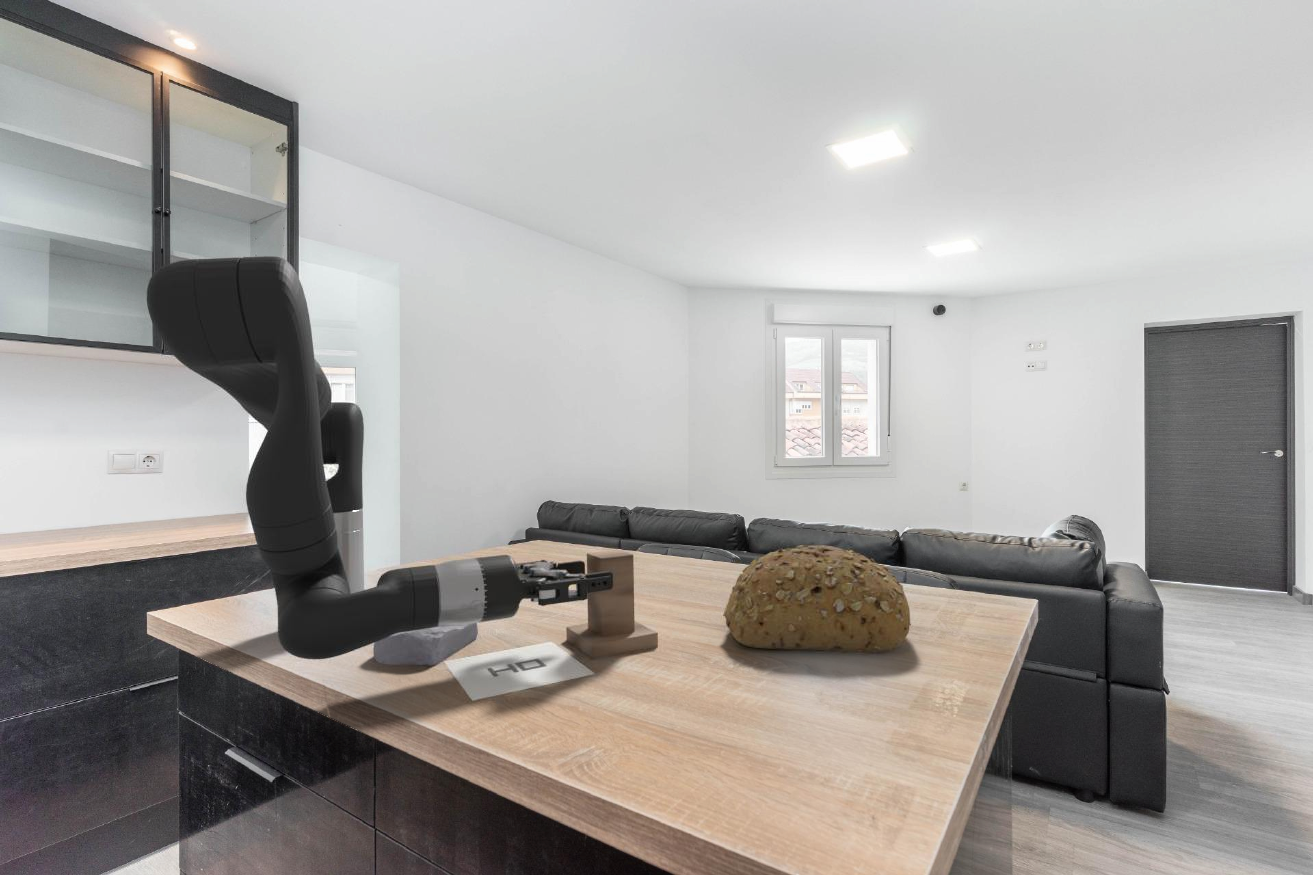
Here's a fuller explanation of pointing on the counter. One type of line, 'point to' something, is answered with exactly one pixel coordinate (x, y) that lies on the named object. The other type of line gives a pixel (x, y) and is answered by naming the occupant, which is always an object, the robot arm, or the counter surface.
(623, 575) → the walnut stamp
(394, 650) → the stone block
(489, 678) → the tile
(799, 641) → the bread
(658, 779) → the counter surface
